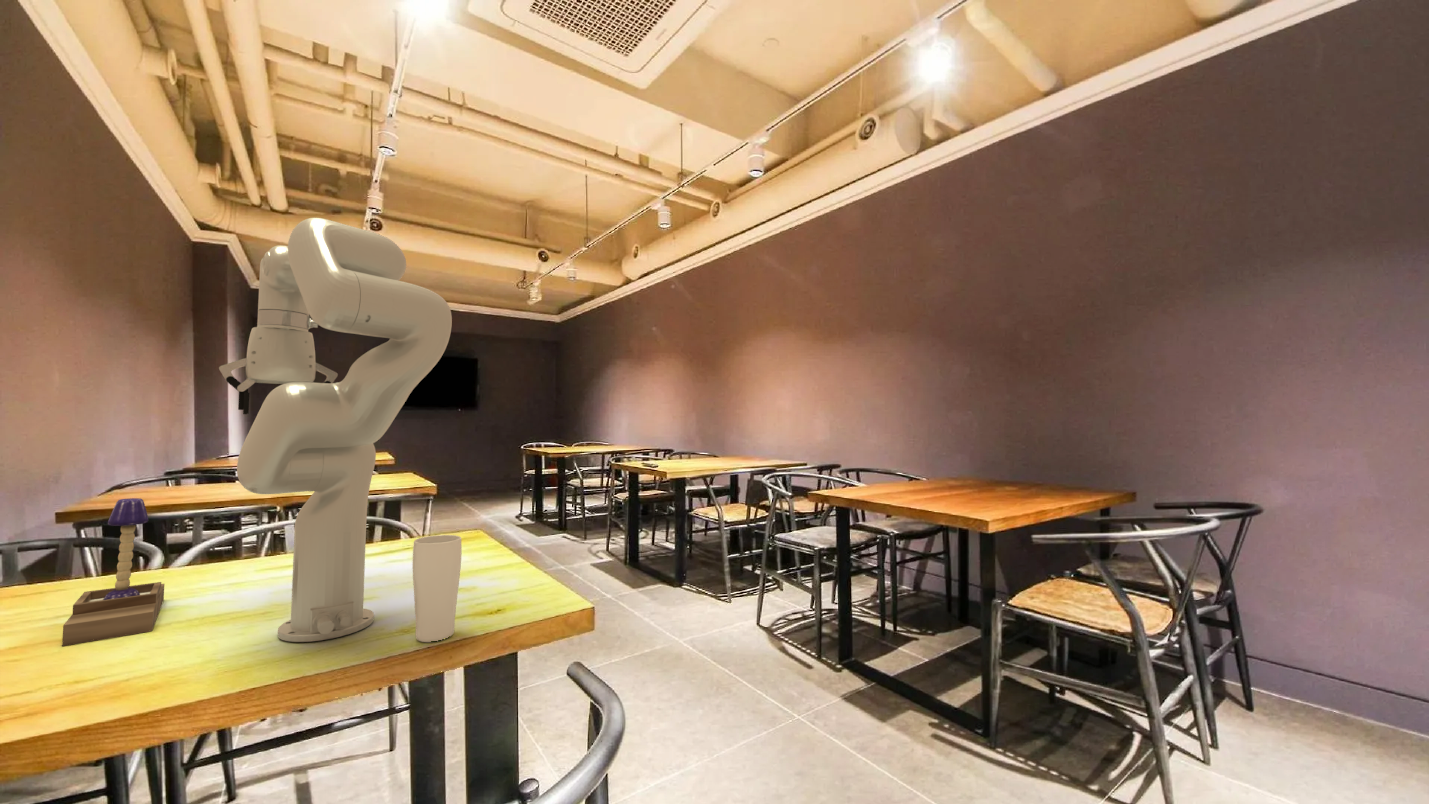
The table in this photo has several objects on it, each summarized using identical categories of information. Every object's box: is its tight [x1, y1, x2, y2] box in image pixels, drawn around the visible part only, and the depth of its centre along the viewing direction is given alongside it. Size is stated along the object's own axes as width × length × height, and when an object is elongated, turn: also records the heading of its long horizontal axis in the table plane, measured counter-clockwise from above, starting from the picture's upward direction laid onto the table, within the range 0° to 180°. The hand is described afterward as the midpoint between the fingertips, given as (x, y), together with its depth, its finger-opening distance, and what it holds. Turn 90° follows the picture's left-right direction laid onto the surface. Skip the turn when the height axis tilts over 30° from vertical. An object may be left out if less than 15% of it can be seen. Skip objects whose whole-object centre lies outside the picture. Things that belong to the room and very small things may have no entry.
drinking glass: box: [412, 534, 462, 643], centre depth 85 cm, size 7×7×15 cm
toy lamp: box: [103, 497, 149, 600], centre depth 91 cm, size 5×5×17 cm
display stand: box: [61, 581, 165, 647], centre depth 91 cm, size 20×9×4 cm, turn 42°
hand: (279, 414), depth 102 cm, fingers open, 9 cm apart
